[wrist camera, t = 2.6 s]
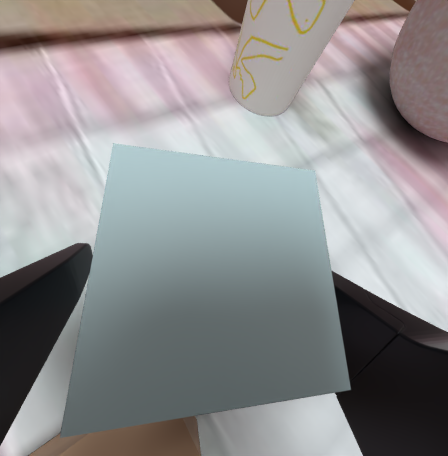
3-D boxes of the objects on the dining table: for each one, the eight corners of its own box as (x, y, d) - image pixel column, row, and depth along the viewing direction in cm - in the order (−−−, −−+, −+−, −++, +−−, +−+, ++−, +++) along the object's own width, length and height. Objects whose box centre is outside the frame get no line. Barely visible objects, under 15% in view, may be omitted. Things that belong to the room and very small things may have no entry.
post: (213, 302, 15) (350, 389, 3) (162, 304, 14) (60, 437, 2) (213, 253, 16) (315, 170, 4) (166, 252, 15) (113, 143, 3)
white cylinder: (215, 72, 22) (252, -143, 11) (266, 59, 25) (336, -124, 14) (254, 124, 21) (337, -51, 10) (301, 105, 24) (409, -50, 13)
